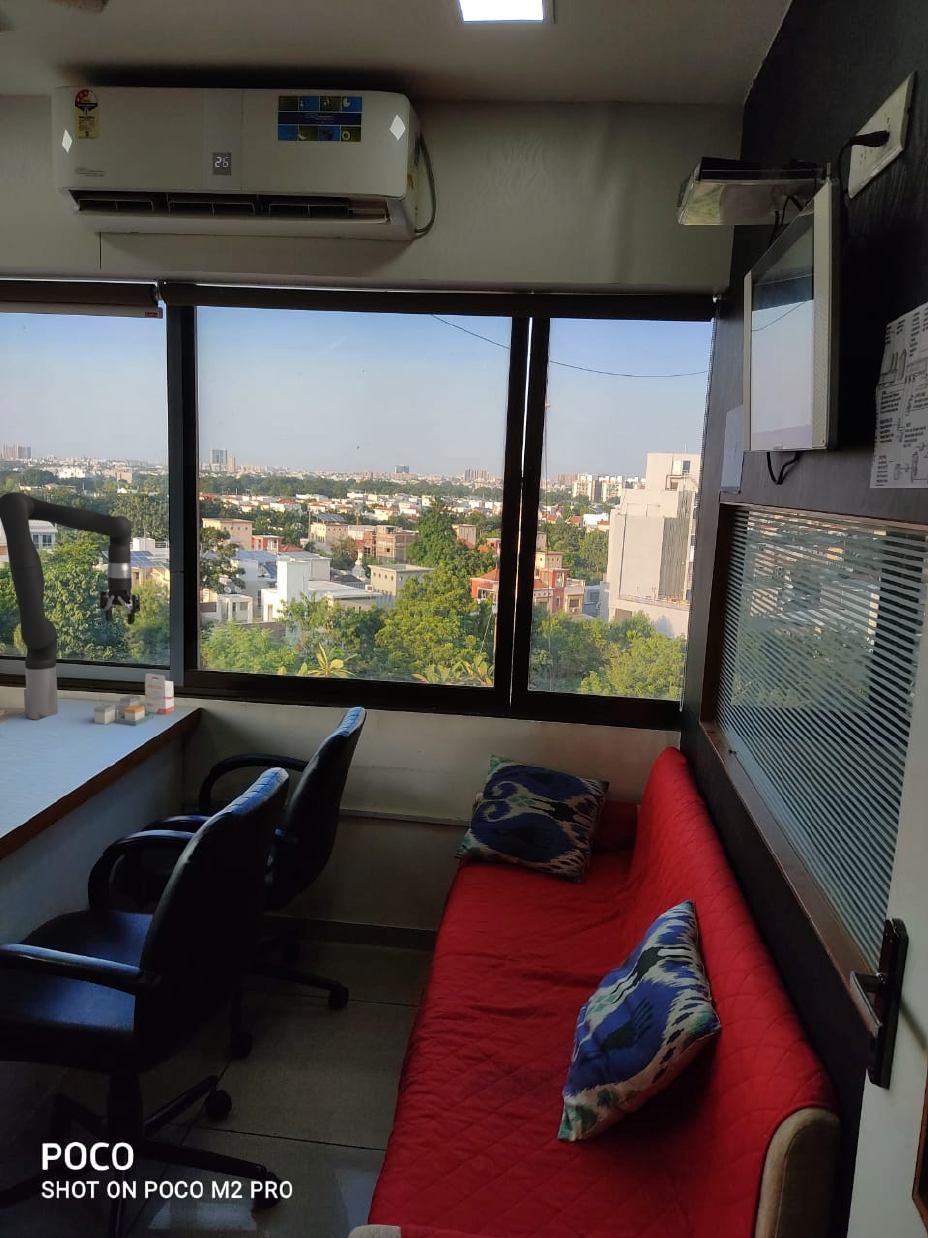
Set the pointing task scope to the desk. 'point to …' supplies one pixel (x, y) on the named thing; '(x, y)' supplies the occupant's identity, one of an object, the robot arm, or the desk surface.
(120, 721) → the tray
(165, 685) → the ink cartridge box
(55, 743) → the desk surface
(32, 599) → the robot arm
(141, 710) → the block
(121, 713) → the board
